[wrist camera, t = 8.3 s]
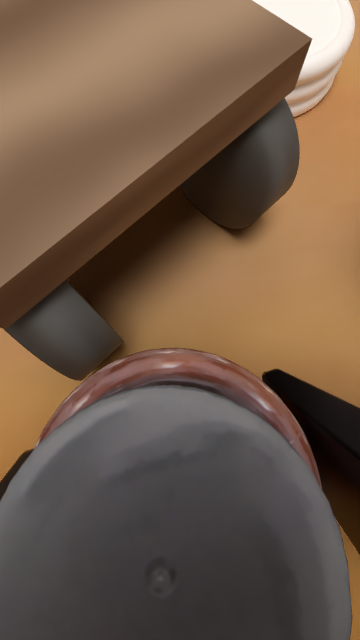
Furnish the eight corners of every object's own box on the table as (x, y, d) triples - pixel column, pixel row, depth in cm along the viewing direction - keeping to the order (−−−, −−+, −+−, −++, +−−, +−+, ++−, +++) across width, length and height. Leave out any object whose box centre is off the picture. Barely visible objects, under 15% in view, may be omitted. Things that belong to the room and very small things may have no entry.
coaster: (310, 16, 23) (332, -52, 19) (348, 117, 20) (382, 59, 17) (181, 31, 22) (180, -35, 19) (202, 135, 20) (206, 80, 16)
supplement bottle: (91, 423, 14) (-217, 491, 3) (192, 352, 15) (215, 217, 4) (161, 543, 13) (30, 1353, 2) (268, 457, 14) (603, 671, 3)
